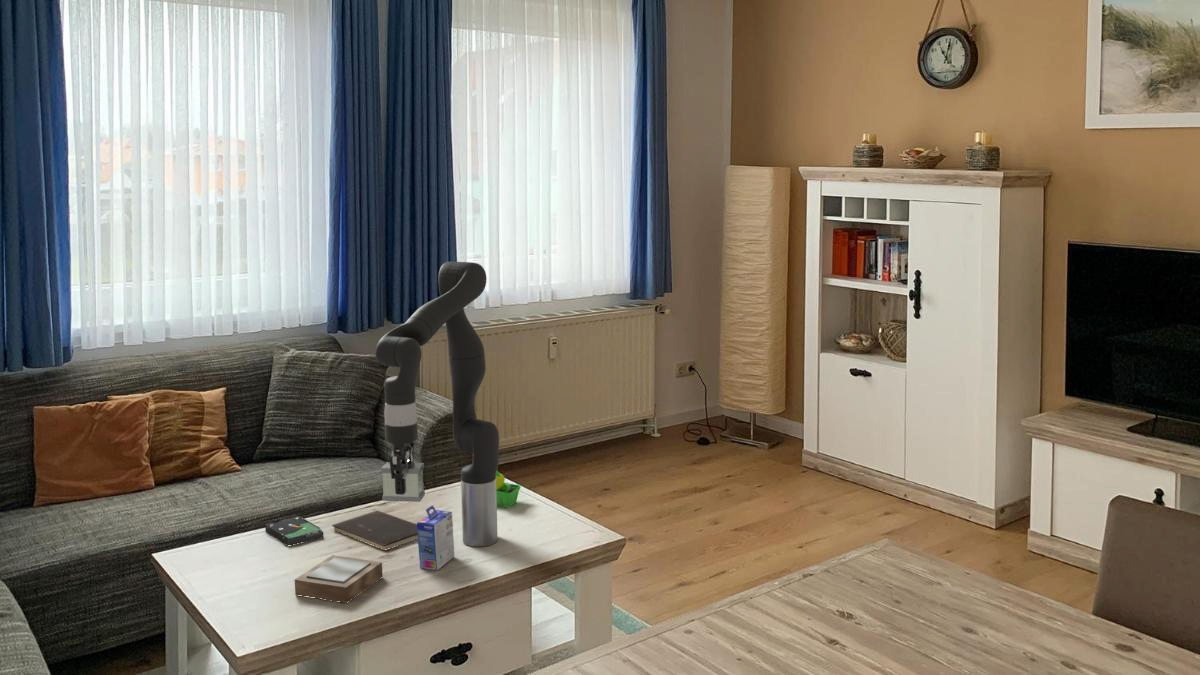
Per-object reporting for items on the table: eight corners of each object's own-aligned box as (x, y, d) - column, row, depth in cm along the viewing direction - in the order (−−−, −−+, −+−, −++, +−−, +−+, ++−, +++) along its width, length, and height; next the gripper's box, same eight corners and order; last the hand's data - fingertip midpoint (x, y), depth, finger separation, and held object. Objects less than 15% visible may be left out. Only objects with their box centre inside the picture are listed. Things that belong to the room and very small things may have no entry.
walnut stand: (333, 570, 270) (332, 553, 269) (382, 577, 266) (381, 560, 265) (295, 595, 255) (294, 578, 254) (346, 603, 251) (346, 585, 250)
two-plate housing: (388, 494, 260) (386, 462, 258) (424, 495, 259) (423, 463, 258) (382, 500, 255) (381, 468, 254) (419, 501, 254) (418, 469, 253)
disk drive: (264, 533, 297) (288, 548, 286) (263, 524, 296) (288, 538, 285) (299, 524, 304) (324, 538, 293) (299, 515, 303) (324, 528, 292)
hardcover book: (384, 553, 282) (384, 545, 282) (332, 532, 297) (332, 524, 297) (432, 536, 294) (431, 528, 294) (379, 517, 309) (379, 509, 309)
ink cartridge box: (436, 554, 280) (434, 500, 278) (455, 556, 279) (453, 502, 276) (417, 568, 271) (415, 513, 269) (437, 571, 269) (435, 515, 267)
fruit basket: (522, 501, 321) (521, 464, 319) (507, 510, 313) (507, 473, 311) (488, 496, 325) (488, 460, 323) (473, 505, 317) (472, 468, 315)
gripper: (408, 429, 247) (411, 500, 250) (424, 413, 261) (426, 481, 264) (376, 428, 247) (379, 499, 250) (393, 412, 261) (395, 480, 264)
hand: (403, 490), depth 257 cm, fingers closed on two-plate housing, 4 cm apart
